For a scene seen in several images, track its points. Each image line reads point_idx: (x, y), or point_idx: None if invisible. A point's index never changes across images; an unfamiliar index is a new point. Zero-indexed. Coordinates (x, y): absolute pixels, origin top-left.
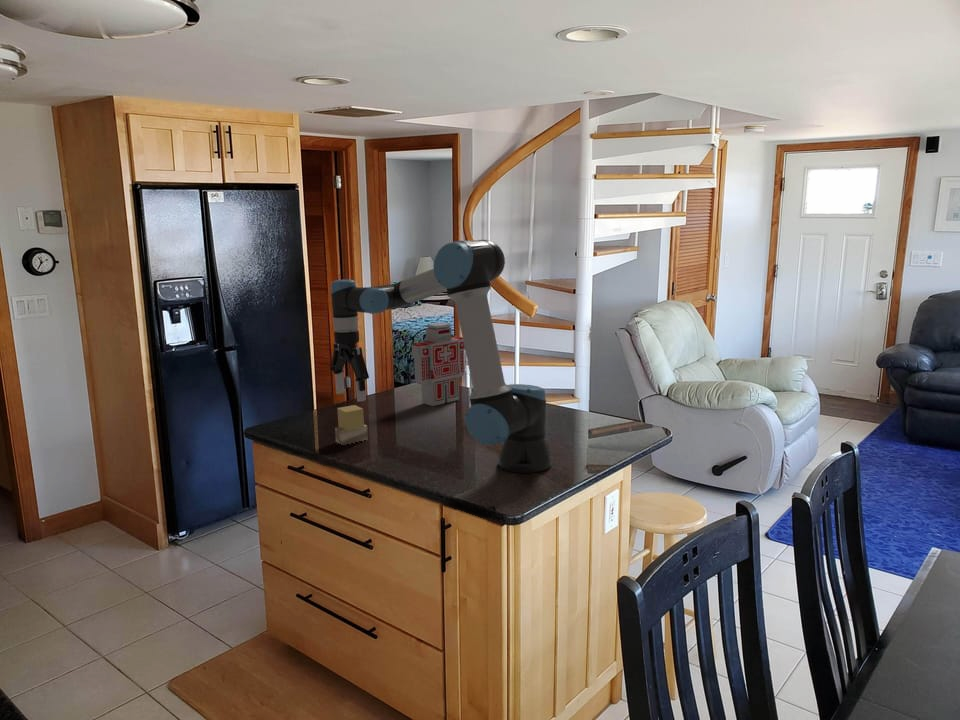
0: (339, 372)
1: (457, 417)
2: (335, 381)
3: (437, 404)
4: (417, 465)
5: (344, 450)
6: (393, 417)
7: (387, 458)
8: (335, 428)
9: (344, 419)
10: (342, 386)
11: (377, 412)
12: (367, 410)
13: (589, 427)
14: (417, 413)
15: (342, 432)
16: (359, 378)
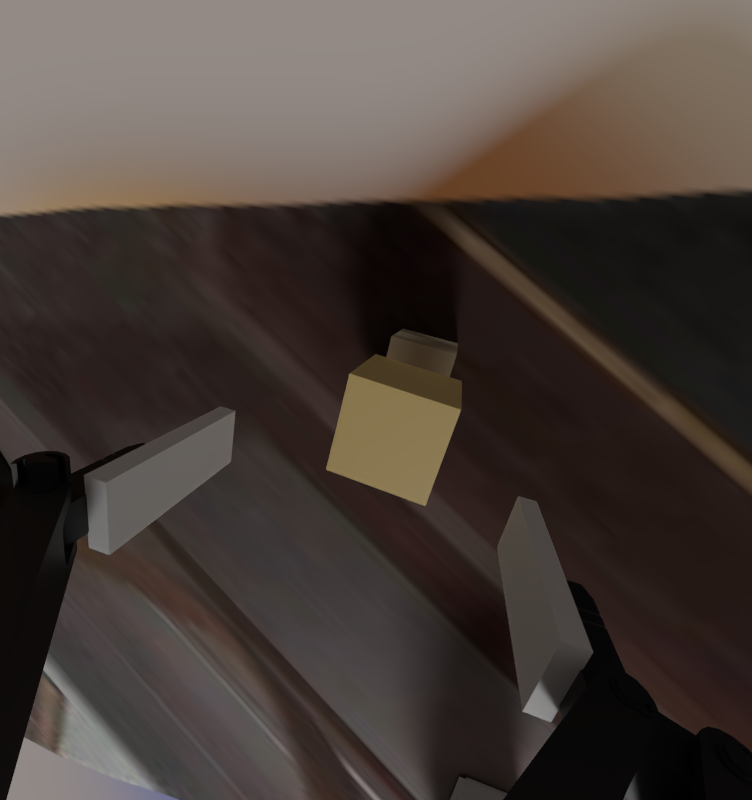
0: (568, 708)
1: (323, 704)
2: (561, 575)
3: (455, 788)
4: (89, 332)
5: (355, 295)
6: (493, 657)
7: (186, 325)
8: (453, 353)
9: (382, 369)
10: (509, 573)
11: None
12: (658, 699)
13: (73, 708)
14: (453, 709)
15: (391, 339)
16: (17, 487)
